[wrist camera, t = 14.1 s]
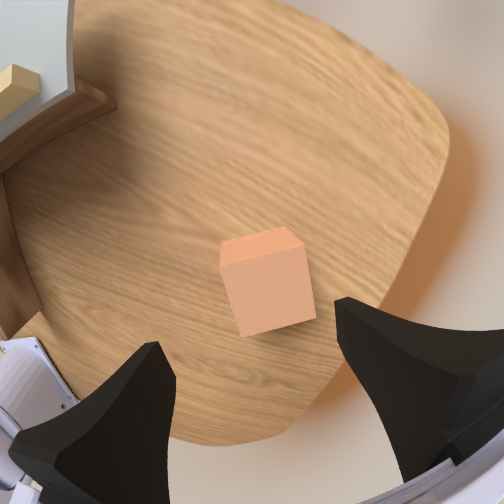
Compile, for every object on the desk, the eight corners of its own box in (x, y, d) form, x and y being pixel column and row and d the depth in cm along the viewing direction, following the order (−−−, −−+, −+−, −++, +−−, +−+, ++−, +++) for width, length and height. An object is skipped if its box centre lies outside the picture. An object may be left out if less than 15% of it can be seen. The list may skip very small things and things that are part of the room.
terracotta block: (296, 283, 20) (316, 317, 15) (237, 299, 20) (241, 337, 15) (284, 225, 19) (304, 245, 14) (221, 241, 19) (219, 266, 14)
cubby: (162, 279, 19) (139, 321, 13) (37, 308, 19) (3, 341, 13) (115, 98, 15) (75, 76, 9) (-4, 168, 15) (-49, 174, 9)
